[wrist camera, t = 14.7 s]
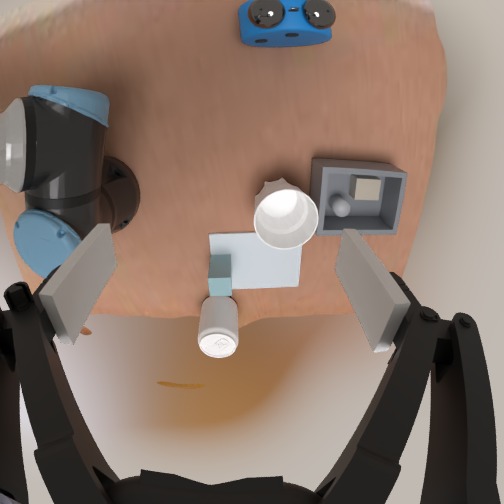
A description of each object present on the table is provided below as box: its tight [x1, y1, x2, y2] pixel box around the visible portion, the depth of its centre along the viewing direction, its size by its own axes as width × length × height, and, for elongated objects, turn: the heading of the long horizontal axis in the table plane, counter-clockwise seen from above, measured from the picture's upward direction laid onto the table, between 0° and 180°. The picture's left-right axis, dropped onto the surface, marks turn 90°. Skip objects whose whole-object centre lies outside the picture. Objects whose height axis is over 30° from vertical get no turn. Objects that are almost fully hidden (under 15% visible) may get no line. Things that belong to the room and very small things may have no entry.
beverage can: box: [198, 296, 238, 358], centre depth 59 cm, size 8×8×12 cm
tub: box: [310, 158, 407, 236], centre depth 49 cm, size 16×12×7 cm
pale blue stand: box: [208, 232, 302, 296], centre depth 55 cm, size 18×13×9 cm
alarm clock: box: [238, 0, 336, 47], centre depth 31 cm, size 13×6×15 cm, turn 95°
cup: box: [254, 177, 319, 249], centre depth 48 cm, size 10×10×10 cm
